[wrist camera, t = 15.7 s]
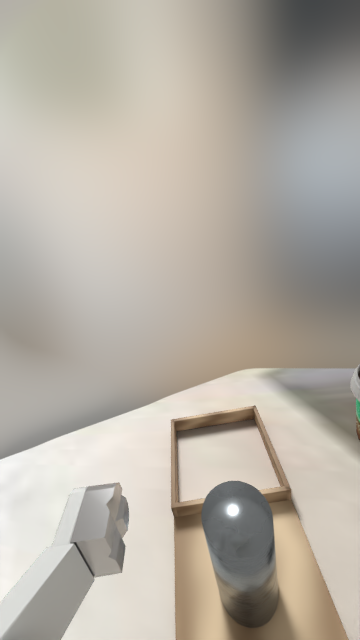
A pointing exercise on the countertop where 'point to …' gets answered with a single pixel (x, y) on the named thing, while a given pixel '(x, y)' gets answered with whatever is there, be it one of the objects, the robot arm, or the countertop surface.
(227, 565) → the slate tin
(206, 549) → the wooden tray board
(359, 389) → the food container
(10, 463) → the countertop surface
